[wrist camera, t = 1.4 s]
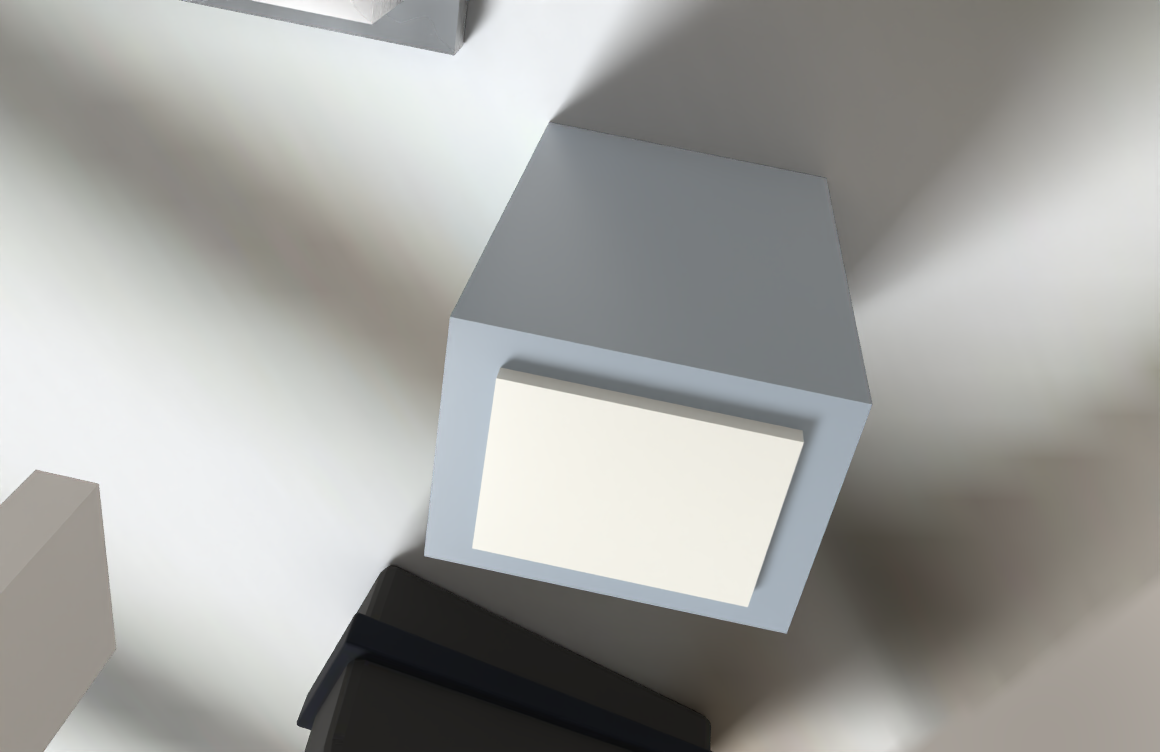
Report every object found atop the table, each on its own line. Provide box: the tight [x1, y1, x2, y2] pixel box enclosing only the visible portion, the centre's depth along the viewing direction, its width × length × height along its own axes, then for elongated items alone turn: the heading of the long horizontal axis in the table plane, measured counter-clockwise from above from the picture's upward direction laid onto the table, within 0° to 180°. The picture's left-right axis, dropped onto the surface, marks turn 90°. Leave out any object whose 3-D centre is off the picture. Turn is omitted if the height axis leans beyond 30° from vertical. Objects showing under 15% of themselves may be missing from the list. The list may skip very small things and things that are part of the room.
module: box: [424, 122, 872, 634], centre depth 19 cm, size 6×4×9 cm
